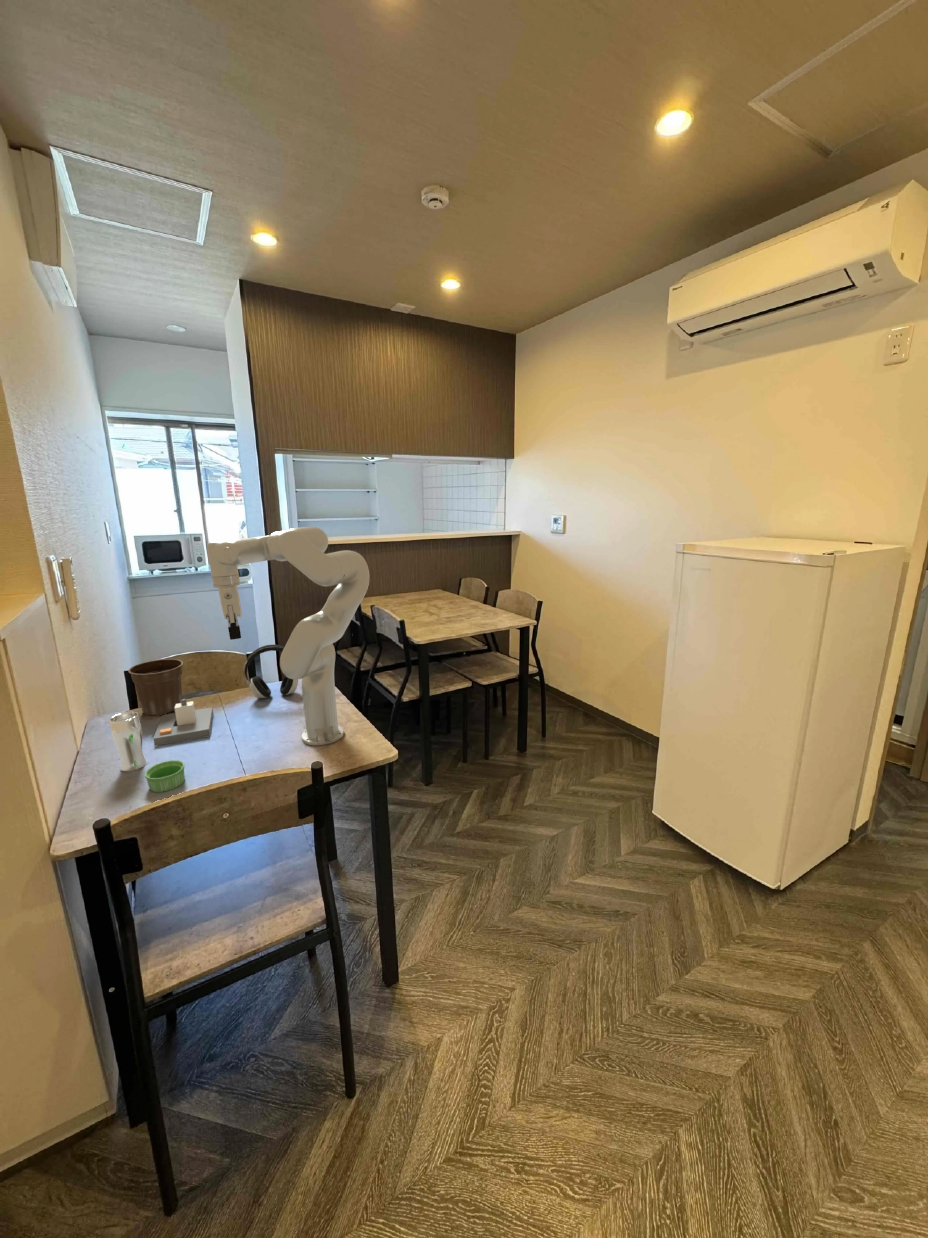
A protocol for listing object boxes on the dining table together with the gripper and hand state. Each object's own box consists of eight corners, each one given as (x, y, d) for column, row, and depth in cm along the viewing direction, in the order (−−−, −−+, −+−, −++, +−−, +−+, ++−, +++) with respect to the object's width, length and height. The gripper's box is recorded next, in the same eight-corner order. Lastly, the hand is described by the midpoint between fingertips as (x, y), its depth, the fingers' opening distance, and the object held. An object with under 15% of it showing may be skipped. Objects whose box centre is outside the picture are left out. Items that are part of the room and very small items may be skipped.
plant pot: (193, 697, 187) (186, 656, 183) (184, 714, 172) (177, 670, 168) (143, 703, 182) (135, 661, 178) (130, 722, 167) (121, 676, 163)
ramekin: (168, 772, 136) (165, 758, 135) (194, 777, 134) (192, 762, 133) (139, 791, 128) (135, 775, 127) (166, 796, 125) (163, 780, 124)
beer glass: (126, 775, 135) (116, 724, 131) (113, 768, 139) (103, 718, 135) (153, 763, 141) (144, 714, 137) (140, 757, 144) (131, 709, 141)
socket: (209, 736, 156) (208, 726, 156) (154, 745, 151) (152, 736, 150) (213, 713, 173) (212, 705, 172) (163, 721, 167) (162, 712, 166)
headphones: (301, 688, 194) (296, 639, 189) (303, 696, 186) (298, 645, 181) (247, 696, 187) (240, 645, 182) (247, 705, 179) (240, 652, 174)
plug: (196, 728, 161) (191, 700, 159) (178, 731, 159) (173, 703, 157) (197, 723, 164) (192, 696, 162) (179, 726, 162) (175, 699, 160)
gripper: (239, 582, 149) (249, 642, 153) (239, 576, 162) (248, 631, 166) (211, 585, 146) (222, 646, 150) (213, 579, 159) (223, 635, 163)
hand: (235, 638), depth 158 cm, fingers closed
